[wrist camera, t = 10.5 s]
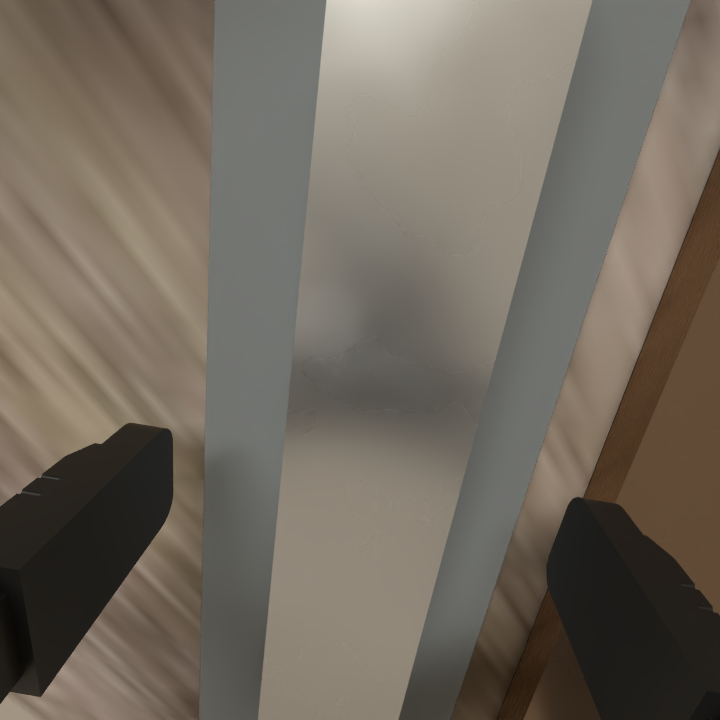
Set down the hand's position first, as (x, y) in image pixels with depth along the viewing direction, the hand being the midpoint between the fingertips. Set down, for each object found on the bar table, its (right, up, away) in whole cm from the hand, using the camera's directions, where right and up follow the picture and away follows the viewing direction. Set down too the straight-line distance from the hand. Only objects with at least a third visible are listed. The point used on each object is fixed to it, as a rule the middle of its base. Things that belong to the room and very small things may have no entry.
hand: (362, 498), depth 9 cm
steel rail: (0, +1, +2) cm, 2 cm away
